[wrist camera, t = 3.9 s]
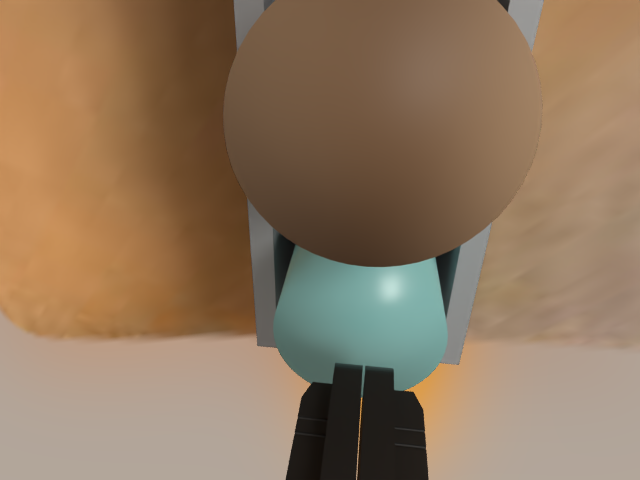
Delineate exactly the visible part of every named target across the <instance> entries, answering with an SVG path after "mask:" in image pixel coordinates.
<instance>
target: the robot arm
mask: <svg viewBox="0 0 640 480" xmlns="http://www.w3.org/2000/svg"><path fill="white" fill-rule="evenodd" d="M362 372H363V365H354V364H343V363H335V367H334V374H333V382H332V384H330V383H320V382H312V384H311V385H310V386H309V388H308V389H307V391H306V392H305V393H304V395H303V396H302V398H301V403H300V408H299V413H298V420H297V424H296V429H295V435H294V440H293V444H292V449H291V455H290V460H289V465H288V470H287V475H286V480H356V470H357V453H358V437H359V421H360V420H359V419H360V404H361V389H362ZM357 480H428V467H427V454H426V441H425V427H424V414H423V409H422V407H421V405H420V403H419V401H418V399H417V398H416V396H415V394H414V392H409V391H399V390H394V369H393V368H385V367H375V366H365V375H364V386H363V398H362V411H361V425H360V441H359V458H358V476H357Z"/></svg>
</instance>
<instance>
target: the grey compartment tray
mask: <svg viewBox="0 0 640 480" xmlns="http://www.w3.org/2000/svg"><path fill="white" fill-rule="evenodd" d="M274 1H275V0H234V13H235V28H236V42H237V51H238V49H239V47H240V46H241V44H242V42H243V40H244V38H245V37H246V35H247V33H248V31H249V30H250V29H251V27H252V26H253V25H254V23H255V22H256V21H257V19H258V18H259V17H260V16H261V14H262V13H263V12H264V11H265V10H266V9H267V8H268V7H269V6H270V5H271V4H272V3H273V2H274ZM497 1H498V2H499V3H500V4H501V5H502V6H503V7H504V9H505V10H506V11H507V12H508V13H509V15H510V16H511V17H512V18H513V19H514V21H515V22H516V24H517V25H518V27H519V29H520V30H521V32H522V34H523V35H524V37H525V39H526V40H527V42H528V45H529V47H530V50H531V52H532V49H533V45H534V41H535V36H536V32H537V28H538V23H539V19H540V15H541V11H542V6H543V2H544V0H497ZM247 202H248V216H249V231H250V245H251V259H252V274H253V288H254V303H255V317H256V332H257V345H258V346H263V347H274V348H277V346H276V343H275V340H274V333H273V321H274V316H275V312H276V309H277V305H278V302H279V299H280V295H281V292H282V288H283V285H284V282H285V278H286V275H287V272H288V268H289V265H290V261H291V258H292V255H293V251H294V248H295V243H293V242H291V241H290V240H288V239H287V238H285V237H284V236H283V235H281V234H280V233H279V232H278V231H277V230H275V229H274V228H273V227H272V226H271V225H270V224H269V223H268V222H267V221H266V220H265V219H264V218H263V217H262V216H261V215H260V214H259V213H258V212H257V210H256V209H255V208H254V206H253V205H252V204H251V202H250V201H249V200H248V198H247ZM491 225H492V223H490V224H489V225H488V226H487V227H486V228H485V229H484V230H482V231H481V232H480V233H478V234H477V235H476V236H474V237H473V238H472V239H470V240H469V241H467V242H465V243H464V244H462V245H460V246H458V247H457V248H455V249H453V250H451V251H449V252H446V253H444V254H442V255H439V256H437V257H436V263H437V269H438V275H439V281H440V287H441V293H442V299H443V305H444V311H445V317H446V323H447V331H448V340H447V347H446V350H445V353H444V356H443V358H442V360H441V362H440V363H445V364H456V365H459V362H460V358H461V354H462V349H463V345H464V341H465V337H466V332H467V328H468V324H469V319H470V315H471V311H472V306H473V302H474V298H475V294H476V289H477V285H478V281H479V276H480V272H481V268H482V264H483V259H484V255H485V251H486V246H487V242H488V238H489V234H490V229H491Z"/></svg>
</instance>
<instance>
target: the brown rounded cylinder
mask: <svg viewBox="0 0 640 480" xmlns="http://www.w3.org/2000/svg"><path fill="white" fill-rule="evenodd" d="M542 108H543V103H542V92H541V83H540V78H539V74H538V70H537V66H536V62H535V59H534V57H533V55H532V52H531V50H530V47H529V45H528V42H527V40H526V39H525V37H524V35H523V34H522V32H521V30H520V29H519V27H518V25H517V24H516V22H515V21H514V19H513V18H512V17H511V16H510V15H509V13H508V12H507V11H506V10H505V9H504V7H503V6H502V5H501V4H500V3H499V2H498V1H497V0H275V1H274V2H273V3H272V4H271V5H270V6H269V7H268V8H267V9H266V10H265V11H264V12H263V13H262V14H261V16H260V17H259V18H258V19H257V21H256V22H255V23H254V25H253V26H252V27H251V29H250V30H249V31H248V33H247V35H246V37H245V38H244V40H243V42H242V44H241V46H240V47H239V49H238V51H237V54H236V56H235V59H234V61H233V64H232V66H231V69H230V73H229V77H228V81H227V85H226V89H225V97H224V106H223V128H224V136H225V142H226V149H227V152H228V156H229V159H230V163H231V166H232V169H233V171H234V173H235V176H236V178H237V180H238V183H239V185H240V186H241V188H242V190H243V191H244V193H245V195H246V196H247V198H248V200H249V201H250V202H251V204H252V205H253V206H254V208H255V209H256V210H257V212H258V213H259V214H260V215H261V216H262V217H263V218H264V219H265V220H266V221H267V222H268V223H269V224H270V225H271V226H272V227H273V228H274V229H275V230H277V231H278V232H279V233H280V234H281V235H283V236H284V237H285V238H287V239H288V240H290V241H291V242H293V243H295V244H296V245H298V246H299V247H301V248H303V249H305V250H307V251H309V252H311V253H313V254H315V255H318V256H321V257H324V258H326V259H329V260H332V261H336V262H340V263H344V264H348V265H356V266H364V267H392V266H402V265H407V264H412V263H418V262H421V261H424V260H428V259H431V258H434V257H437V256H439V255H442V254H444V253H446V252H449V251H451V250H453V249H455V248H457V247H458V246H460V245H462V244H464V243H465V242H467V241H469V240H470V239H472V238H473V237H474V236H476V235H477V234H478V233H480V232H481V231H482V230H484V229H485V228H486V227H487V226H488V225H489V224H490V223H492V222H493V221H494V220H495V219H496V218H497V217H498V216H499V215H500V214H501V212H502V211H503V210H504V209H505V208H506V207H507V205H508V204H509V203H510V202H511V201H512V199H513V198H514V196H515V194H516V193H517V191H518V190H519V188H520V187H521V185H522V184H523V182H524V179H525V177H526V175H527V173H528V171H529V169H530V167H531V165H532V162H533V159H534V156H535V153H536V150H537V147H538V142H539V137H540V132H541V126H542Z"/></svg>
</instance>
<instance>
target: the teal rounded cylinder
mask: <svg viewBox="0 0 640 480" xmlns="http://www.w3.org/2000/svg"><path fill="white" fill-rule="evenodd" d="M273 333H274V340H275V343H276V346H277V348H278V350H279V353H280V355H281V356H282V358H283V359H284V361H285V362H286V363H287V364H288V366H289V367H290V368H291V369H292V370H293V371H294V372H296V373H297V374H298V375H299V376H300V377H302V378H303V379H304V380H306V381H307V382H309V383H311V384H312V382H320V383H330V384H332V382H333V374H334V367H335V363H343V364H354V365H363V372H362V389H361V397H363V386H364V375H365V366H375V367H385V368H393V369H394V390H399V391H404V390H407V389H409V388H411V387H413V386H415V385H416V384H418V383H420V382H421V381H423V380H424V379H425V378H427V377H428V376H429V375H430V374H431V373H432V372H433V371H434V370H435V369H436V367H437V366H438V364H439V363H440V362H441V360H442V358H443V356H444V353H445V350H446V347H447V340H448V331H447V323H446V317H445V311H444V305H443V299H442V293H441V287H440V281H439V275H438V269H437V263H436V257H434V258H431V259H428V260H424V261H421V262H418V263H412V264H407V265H402V266H392V267H364V266H356V265H348V264H344V263H340V262H336V261H332V260H329V259H326V258H324V257H321V256H318V255H315V254H313V253H311V252H309V251H307V250H305V249H303V248H301V247H299V246H298V245H296V244H295V248H294V251H293V255H292V258H291V261H290V265H289V268H288V272H287V275H286V278H285V282H284V285H283V288H282V292H281V295H280V299H279V302H278V305H277V309H276V312H275V316H274V321H273Z"/></svg>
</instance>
